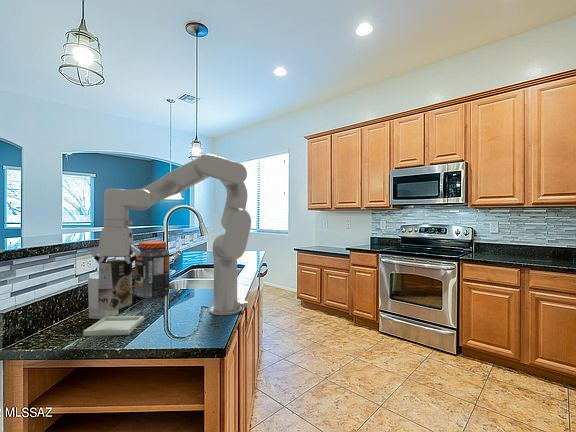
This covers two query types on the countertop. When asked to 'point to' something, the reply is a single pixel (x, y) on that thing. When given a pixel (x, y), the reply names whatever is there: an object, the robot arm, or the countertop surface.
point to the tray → (114, 326)
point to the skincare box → (96, 301)
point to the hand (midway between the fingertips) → (115, 274)
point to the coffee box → (114, 286)
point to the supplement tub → (152, 270)
